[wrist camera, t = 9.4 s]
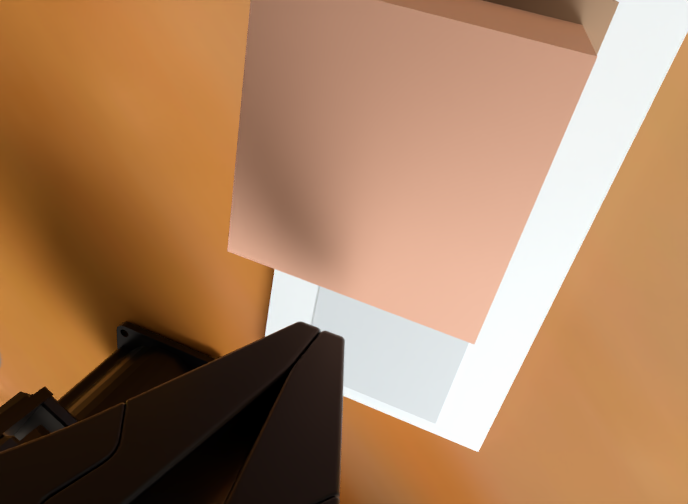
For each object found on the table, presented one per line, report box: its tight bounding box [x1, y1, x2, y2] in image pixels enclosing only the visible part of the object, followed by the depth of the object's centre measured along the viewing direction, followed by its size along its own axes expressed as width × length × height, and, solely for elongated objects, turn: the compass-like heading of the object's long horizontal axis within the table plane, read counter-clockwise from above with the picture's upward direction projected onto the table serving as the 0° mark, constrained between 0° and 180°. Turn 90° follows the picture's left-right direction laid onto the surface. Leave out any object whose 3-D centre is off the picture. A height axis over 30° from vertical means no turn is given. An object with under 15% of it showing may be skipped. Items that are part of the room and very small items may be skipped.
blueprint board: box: [265, 0, 688, 452], centre depth 20 cm, size 11×20×1 cm, turn 170°
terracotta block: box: [227, 0, 597, 344], centre depth 11 cm, size 5×5×5 cm
